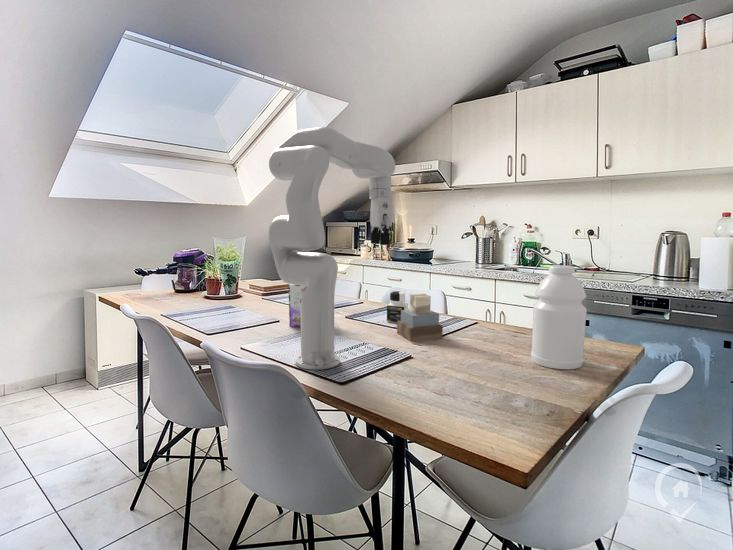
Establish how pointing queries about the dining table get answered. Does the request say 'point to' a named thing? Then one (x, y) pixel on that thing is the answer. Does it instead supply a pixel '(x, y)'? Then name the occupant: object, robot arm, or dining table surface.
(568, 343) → the bottle
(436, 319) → the slate top block
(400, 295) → the medicine bottle
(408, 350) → the dining table surface
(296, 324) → the candy box
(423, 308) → the maple block
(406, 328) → the walnut base block
